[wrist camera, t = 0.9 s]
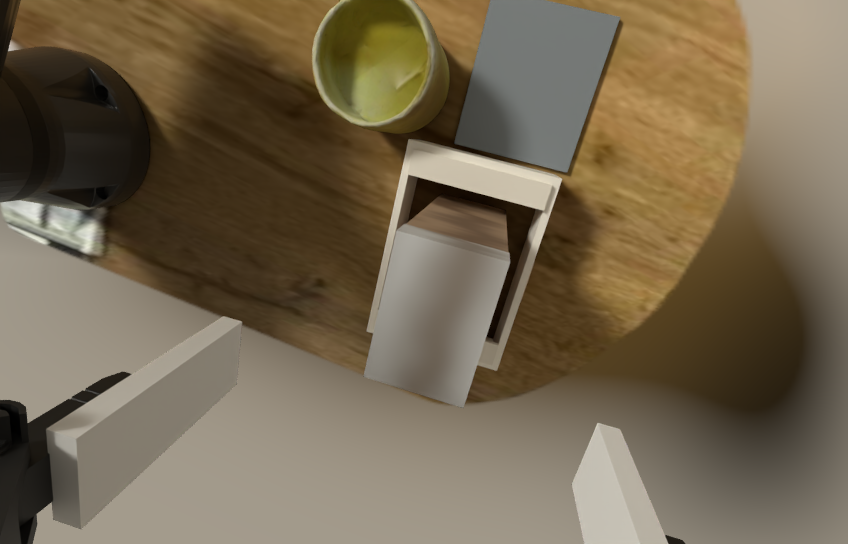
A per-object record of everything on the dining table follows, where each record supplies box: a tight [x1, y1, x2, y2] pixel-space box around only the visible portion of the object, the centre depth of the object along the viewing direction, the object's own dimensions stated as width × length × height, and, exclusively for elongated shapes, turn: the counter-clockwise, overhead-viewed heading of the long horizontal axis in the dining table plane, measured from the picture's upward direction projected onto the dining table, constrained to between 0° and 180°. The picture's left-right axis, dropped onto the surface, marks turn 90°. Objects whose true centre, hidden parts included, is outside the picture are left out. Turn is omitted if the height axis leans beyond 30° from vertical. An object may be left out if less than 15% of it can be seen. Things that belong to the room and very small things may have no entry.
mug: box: [312, 0, 450, 134], centre depth 33 cm, size 12×10×10 cm
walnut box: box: [364, 193, 510, 408], centre depth 32 cm, size 6×9×18 cm
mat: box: [454, 0, 620, 173], centre depth 36 cm, size 10×12×1 cm
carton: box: [367, 139, 562, 371], centre depth 38 cm, size 12×17×5 cm
